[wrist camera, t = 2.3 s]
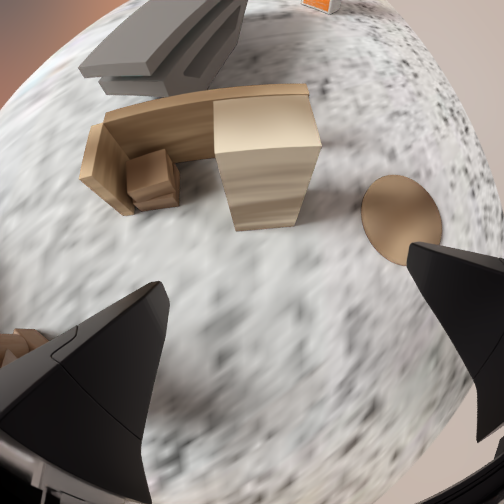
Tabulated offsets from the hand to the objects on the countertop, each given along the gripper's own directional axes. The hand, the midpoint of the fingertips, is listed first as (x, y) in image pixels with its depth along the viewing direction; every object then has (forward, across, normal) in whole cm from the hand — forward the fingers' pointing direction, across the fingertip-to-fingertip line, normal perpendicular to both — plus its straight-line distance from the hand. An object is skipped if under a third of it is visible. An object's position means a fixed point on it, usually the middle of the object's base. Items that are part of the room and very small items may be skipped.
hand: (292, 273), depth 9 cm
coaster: (+14, +13, -6) cm, 20 cm away
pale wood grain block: (+15, 0, -4) cm, 16 cm away
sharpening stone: (+31, -6, +12) cm, 33 cm away
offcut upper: (+16, -9, 0) cm, 18 cm away
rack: (+18, -5, -1) cm, 19 cm away
